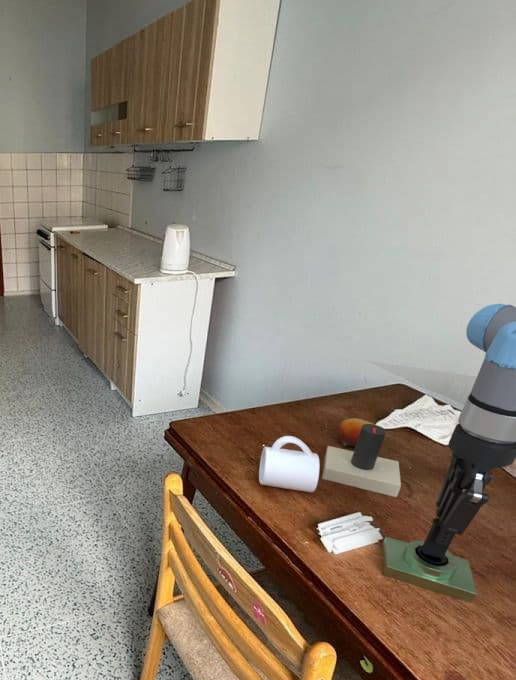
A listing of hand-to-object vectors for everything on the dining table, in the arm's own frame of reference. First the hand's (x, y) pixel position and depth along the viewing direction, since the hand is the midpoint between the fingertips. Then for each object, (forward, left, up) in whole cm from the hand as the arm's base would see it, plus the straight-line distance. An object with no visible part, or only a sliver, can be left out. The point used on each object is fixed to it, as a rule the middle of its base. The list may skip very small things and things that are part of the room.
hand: (432, 552), depth 78 cm
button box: (0, 0, -5) cm, 5 cm away
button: (0, 0, -2) cm, 2 cm away
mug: (+24, -15, -5) cm, 29 cm away
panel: (+10, -26, -5) cm, 28 cm away
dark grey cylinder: (+10, -26, -2) cm, 28 cm away
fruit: (+11, -40, -5) cm, 42 cm away
